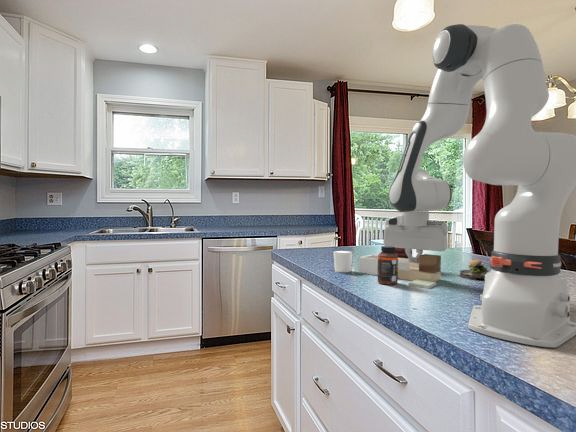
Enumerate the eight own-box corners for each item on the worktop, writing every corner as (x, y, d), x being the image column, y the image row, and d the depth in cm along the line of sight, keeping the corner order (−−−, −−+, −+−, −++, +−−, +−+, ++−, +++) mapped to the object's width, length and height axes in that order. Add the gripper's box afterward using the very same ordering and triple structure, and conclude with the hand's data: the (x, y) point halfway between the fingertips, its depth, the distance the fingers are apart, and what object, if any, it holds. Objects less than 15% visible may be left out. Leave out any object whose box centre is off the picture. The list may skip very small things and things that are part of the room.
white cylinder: (338, 268, 132) (338, 249, 132) (355, 270, 128) (355, 251, 128) (329, 271, 126) (329, 251, 126) (346, 273, 122) (347, 253, 122)
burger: (476, 282, 110) (477, 259, 110) (451, 275, 122) (451, 253, 122) (508, 281, 113) (509, 258, 113) (480, 274, 125) (481, 253, 124)
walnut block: (434, 273, 108) (435, 257, 108) (418, 271, 112) (419, 255, 111) (440, 271, 112) (441, 255, 112) (424, 269, 115) (425, 253, 115)
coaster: (428, 288, 101) (428, 285, 101) (408, 285, 105) (408, 282, 105) (436, 285, 105) (436, 282, 105) (416, 282, 109) (416, 279, 109)
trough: (430, 283, 107) (430, 265, 107) (359, 272, 124) (359, 257, 124) (440, 279, 113) (440, 262, 113) (371, 269, 130) (371, 254, 130)
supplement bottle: (400, 285, 104) (400, 247, 104) (379, 285, 105) (380, 247, 104) (394, 281, 110) (395, 245, 110) (375, 280, 110) (376, 245, 110)
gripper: (451, 221, 110) (450, 265, 110) (390, 219, 124) (389, 258, 124) (444, 221, 105) (443, 267, 105) (381, 219, 119) (381, 260, 119)
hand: (413, 262), depth 115 cm, fingers closed
